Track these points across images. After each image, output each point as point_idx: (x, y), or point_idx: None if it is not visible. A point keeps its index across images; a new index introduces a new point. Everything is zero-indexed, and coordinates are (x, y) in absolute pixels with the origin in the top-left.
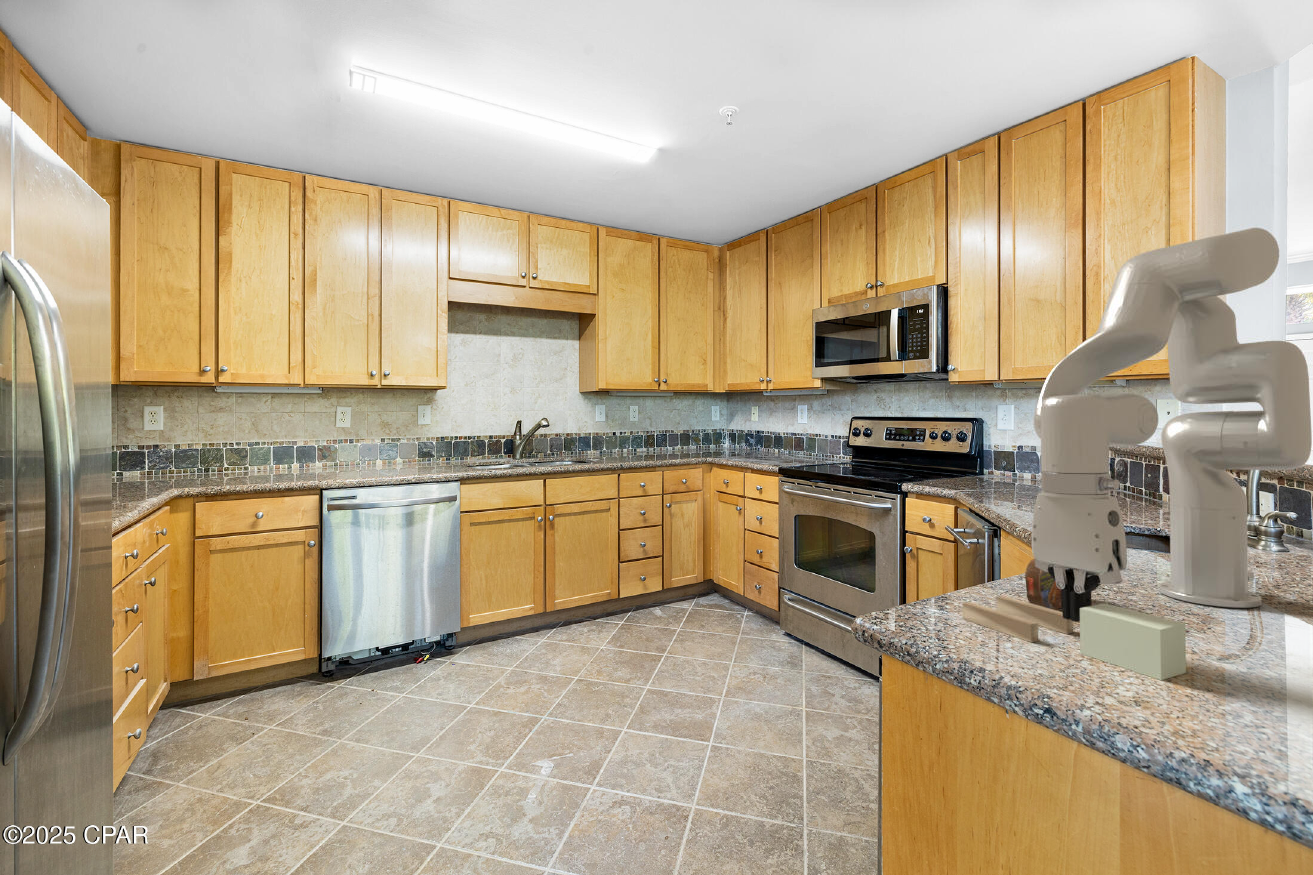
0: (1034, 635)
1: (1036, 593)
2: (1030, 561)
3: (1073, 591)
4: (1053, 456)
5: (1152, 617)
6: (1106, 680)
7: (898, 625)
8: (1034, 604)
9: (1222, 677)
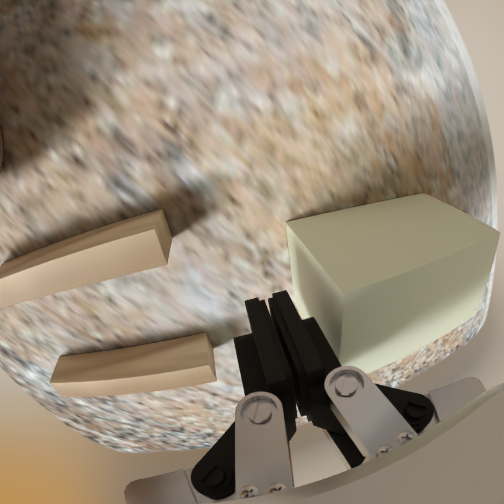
0: (211, 352)
1: None
2: None
3: (309, 414)
4: None
5: (464, 267)
6: None
7: (119, 437)
8: None
9: (448, 154)
